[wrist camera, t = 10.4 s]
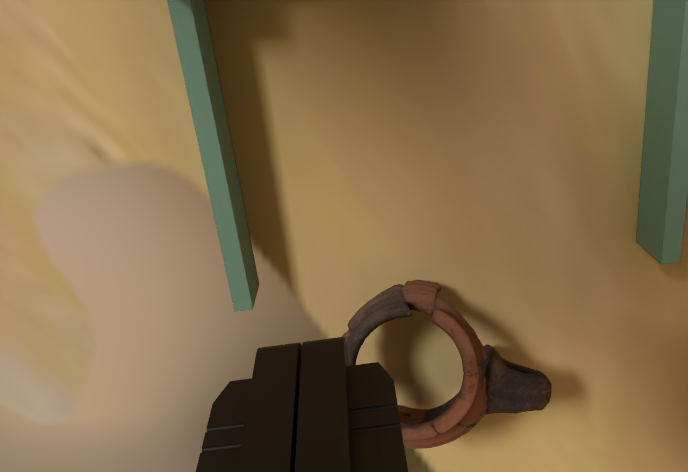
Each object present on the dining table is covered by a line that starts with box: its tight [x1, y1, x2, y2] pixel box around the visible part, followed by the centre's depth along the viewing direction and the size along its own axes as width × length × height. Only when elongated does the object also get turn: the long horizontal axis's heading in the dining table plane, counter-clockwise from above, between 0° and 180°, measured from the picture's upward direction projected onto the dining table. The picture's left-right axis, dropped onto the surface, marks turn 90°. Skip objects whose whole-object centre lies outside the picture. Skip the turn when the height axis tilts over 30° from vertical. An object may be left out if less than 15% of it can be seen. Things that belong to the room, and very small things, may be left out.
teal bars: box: [167, 0, 688, 311], centre depth 30 cm, size 18×25×5 cm
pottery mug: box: [342, 280, 551, 448], centre depth 35 cm, size 12×9×8 cm
